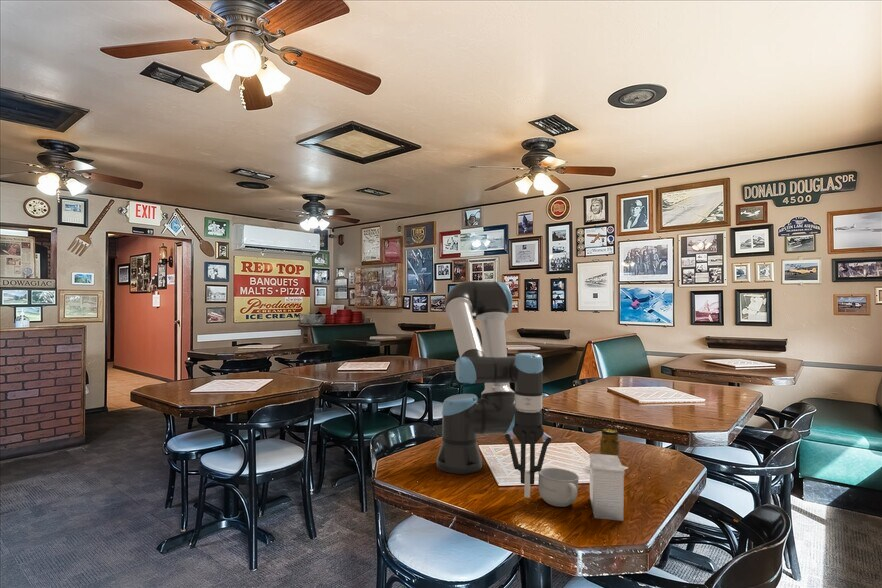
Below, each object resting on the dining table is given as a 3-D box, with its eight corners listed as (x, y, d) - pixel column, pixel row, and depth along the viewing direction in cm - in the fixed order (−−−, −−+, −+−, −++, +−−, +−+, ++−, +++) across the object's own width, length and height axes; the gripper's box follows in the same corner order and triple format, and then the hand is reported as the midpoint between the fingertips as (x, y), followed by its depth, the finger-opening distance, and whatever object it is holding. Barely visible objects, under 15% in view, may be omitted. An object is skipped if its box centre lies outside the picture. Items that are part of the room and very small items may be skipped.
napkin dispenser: (593, 518, 118) (593, 468, 118) (589, 498, 130) (589, 453, 130) (624, 521, 116) (624, 471, 117) (617, 501, 128) (617, 455, 129)
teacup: (533, 494, 132) (533, 466, 132) (570, 493, 133) (570, 465, 133) (548, 516, 118) (549, 485, 118) (589, 516, 119) (590, 484, 119)
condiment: (606, 461, 162) (606, 426, 162) (629, 468, 155) (629, 432, 155) (594, 465, 157) (594, 430, 157) (617, 473, 150) (617, 435, 151)
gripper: (503, 410, 126) (502, 498, 125) (552, 414, 123) (551, 503, 122) (506, 405, 133) (505, 487, 133) (552, 408, 130) (551, 493, 130)
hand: (527, 495), depth 127 cm, fingers closed
